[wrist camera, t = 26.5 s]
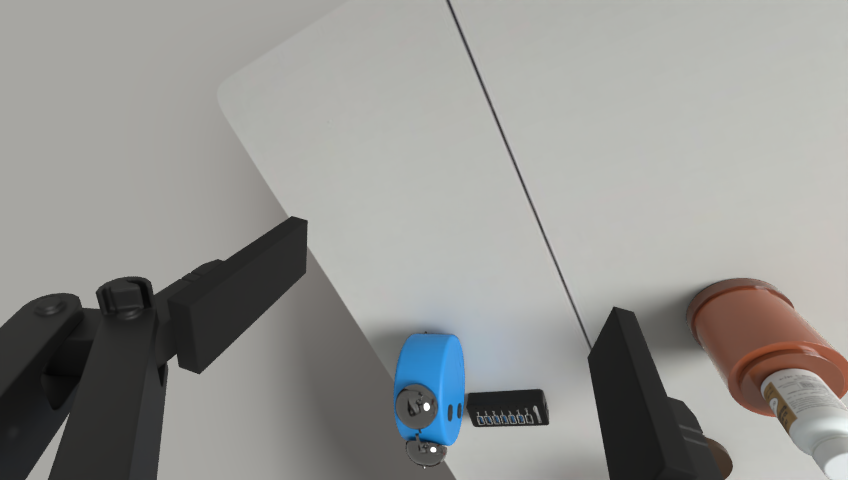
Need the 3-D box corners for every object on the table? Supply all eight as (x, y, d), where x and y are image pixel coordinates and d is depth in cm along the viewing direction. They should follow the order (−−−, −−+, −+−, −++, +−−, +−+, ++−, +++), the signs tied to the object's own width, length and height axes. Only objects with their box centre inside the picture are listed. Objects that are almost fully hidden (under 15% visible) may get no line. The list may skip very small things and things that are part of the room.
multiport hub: (467, 393, 58) (465, 405, 56) (542, 389, 54) (543, 402, 52) (475, 414, 59) (473, 427, 57) (549, 412, 55) (549, 425, 53)
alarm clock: (415, 313, 54) (378, 396, 41) (459, 313, 52) (434, 401, 39) (430, 384, 59) (401, 478, 46) (470, 387, 57) (451, 486, 44)
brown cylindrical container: (711, 267, 41) (764, 329, 32) (808, 292, 40) (892, 364, 30) (670, 333, 45) (706, 405, 36) (756, 358, 44) (816, 438, 35)
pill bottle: (748, 379, 34) (801, 459, 27) (805, 358, 32) (878, 440, 25) (775, 411, 35) (834, 497, 28) (832, 393, 33) (910, 481, 26)
